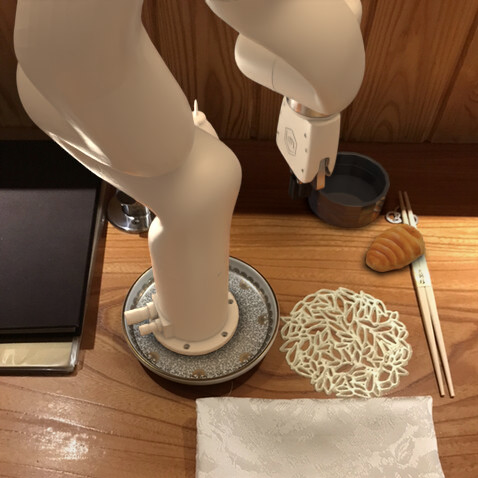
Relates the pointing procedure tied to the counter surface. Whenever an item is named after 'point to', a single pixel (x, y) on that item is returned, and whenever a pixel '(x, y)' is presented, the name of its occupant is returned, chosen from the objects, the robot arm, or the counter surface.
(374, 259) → the pastry
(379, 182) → the pot
